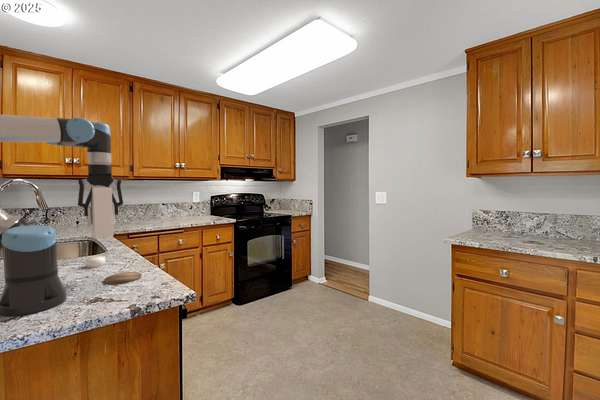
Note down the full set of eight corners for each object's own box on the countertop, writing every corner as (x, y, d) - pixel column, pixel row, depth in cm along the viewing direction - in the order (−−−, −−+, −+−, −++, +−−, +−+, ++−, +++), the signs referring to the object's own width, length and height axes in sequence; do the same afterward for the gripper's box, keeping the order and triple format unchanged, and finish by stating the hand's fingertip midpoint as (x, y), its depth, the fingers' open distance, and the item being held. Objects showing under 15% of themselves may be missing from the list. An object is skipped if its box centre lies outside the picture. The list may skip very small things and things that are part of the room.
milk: (113, 236, 112) (111, 180, 111) (94, 239, 108) (92, 179, 106) (109, 234, 116) (107, 180, 115) (91, 236, 112) (89, 179, 111)
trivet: (141, 280, 108) (140, 278, 108) (102, 286, 102) (102, 283, 102) (141, 272, 118) (141, 270, 118) (106, 276, 113) (106, 274, 113)
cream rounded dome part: (105, 266, 128) (105, 258, 127) (86, 269, 124) (85, 261, 123) (105, 262, 133) (104, 255, 133) (86, 265, 129) (86, 257, 129)
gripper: (129, 165, 119) (131, 221, 120) (68, 164, 108) (71, 224, 110) (130, 164, 112) (132, 223, 114) (65, 162, 102) (67, 227, 103)
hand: (102, 223), depth 112 cm, fingers closed on milk, 7 cm apart
